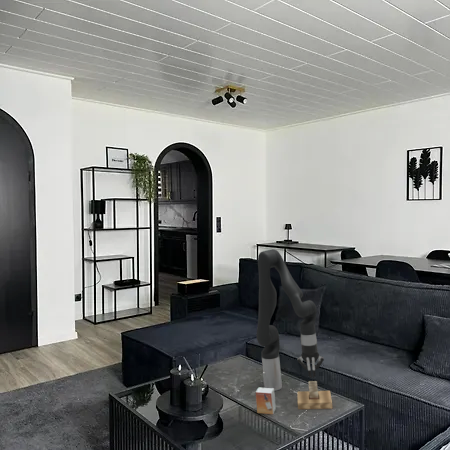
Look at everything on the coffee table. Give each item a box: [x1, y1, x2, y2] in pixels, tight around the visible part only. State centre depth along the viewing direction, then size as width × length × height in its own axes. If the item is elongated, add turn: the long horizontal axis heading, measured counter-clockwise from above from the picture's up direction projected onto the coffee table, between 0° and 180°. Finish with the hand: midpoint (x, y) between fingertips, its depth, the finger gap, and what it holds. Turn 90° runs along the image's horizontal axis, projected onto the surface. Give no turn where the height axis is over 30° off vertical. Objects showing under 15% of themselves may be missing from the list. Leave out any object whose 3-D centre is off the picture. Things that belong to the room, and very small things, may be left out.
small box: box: [255, 386, 277, 415], centre depth 207 cm, size 8×6×10 cm
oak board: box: [297, 390, 333, 410], centre depth 210 cm, size 16×12×3 cm
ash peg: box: [308, 380, 319, 399], centre depth 210 cm, size 4×4×10 cm
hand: (312, 376), depth 209 cm, fingers closed
